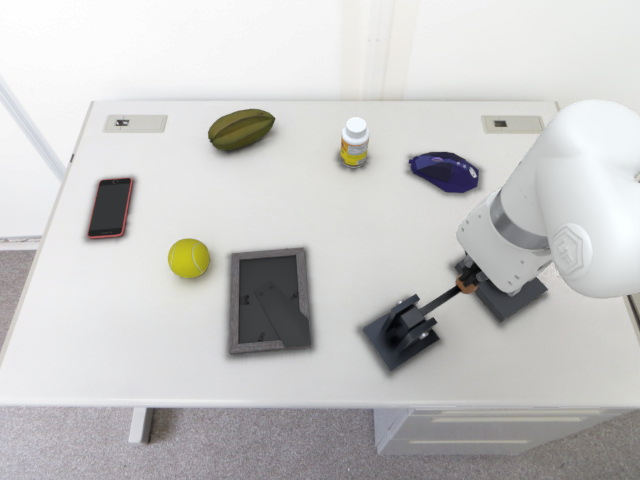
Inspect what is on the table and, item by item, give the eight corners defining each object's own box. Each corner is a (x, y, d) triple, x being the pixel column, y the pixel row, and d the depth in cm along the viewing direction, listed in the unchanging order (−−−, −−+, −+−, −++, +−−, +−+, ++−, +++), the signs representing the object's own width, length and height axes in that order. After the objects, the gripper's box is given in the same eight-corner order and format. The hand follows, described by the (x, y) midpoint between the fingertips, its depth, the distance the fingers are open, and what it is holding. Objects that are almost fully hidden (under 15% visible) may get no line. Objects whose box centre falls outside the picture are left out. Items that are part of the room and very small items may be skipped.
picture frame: (310, 347, 63) (303, 251, 71) (310, 344, 61) (303, 246, 69) (231, 354, 62) (233, 256, 71) (228, 352, 61) (231, 252, 69)
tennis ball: (172, 283, 69) (157, 268, 62) (179, 249, 72) (166, 231, 66) (211, 283, 68) (199, 268, 62) (216, 249, 72) (206, 231, 65)
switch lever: (465, 273, 58) (470, 265, 56) (479, 289, 57) (485, 283, 54) (396, 317, 57) (398, 312, 54) (409, 335, 55) (412, 331, 52)
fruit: (232, 116, 88) (225, 93, 82) (279, 130, 86) (275, 107, 80) (208, 152, 83) (199, 130, 77) (257, 167, 81) (251, 146, 75)
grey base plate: (542, 293, 67) (554, 285, 63) (499, 322, 64) (510, 315, 61) (494, 242, 72) (503, 232, 68) (454, 267, 69) (460, 258, 66)
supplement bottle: (342, 147, 83) (344, 111, 74) (367, 151, 82) (372, 115, 73) (338, 167, 80) (339, 132, 71) (363, 171, 80) (368, 137, 71)
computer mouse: (476, 198, 76) (484, 186, 73) (403, 183, 78) (407, 171, 75) (479, 163, 80) (487, 150, 77) (410, 149, 82) (414, 137, 79)
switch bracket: (409, 301, 66) (425, 276, 56) (438, 340, 63) (460, 321, 53) (362, 330, 64) (369, 309, 54) (389, 372, 61) (402, 359, 50)
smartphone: (132, 176, 79) (122, 235, 73) (134, 178, 80) (123, 236, 73) (99, 179, 79) (85, 238, 72) (100, 181, 79) (87, 239, 73)
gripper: (615, 252, 36) (525, 308, 53) (506, 149, 42) (455, 228, 59) (560, 290, 35) (484, 336, 51) (454, 177, 41) (417, 251, 57)
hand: (469, 278), depth 55 cm, fingers closed
